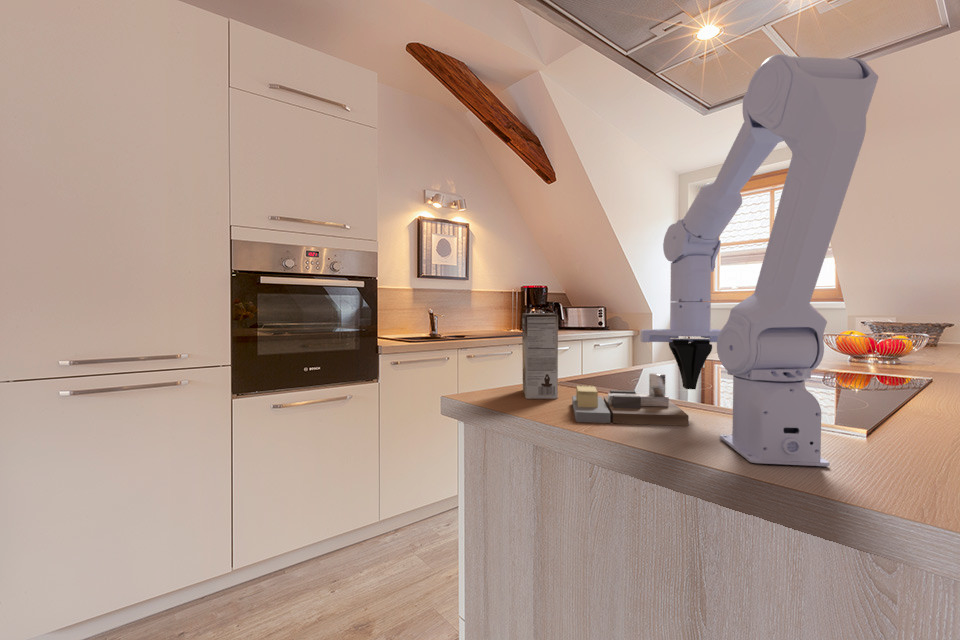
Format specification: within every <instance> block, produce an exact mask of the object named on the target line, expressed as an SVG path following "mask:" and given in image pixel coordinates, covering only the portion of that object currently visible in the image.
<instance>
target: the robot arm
mask: <svg viewBox="0 0 960 640" xmlns="http://www.w3.org/2000/svg"><path fill="white" fill-rule="evenodd" d="M878 80H879V75H878V74H877V73H876V72H875V71H874V70H873V68H872V67H871V66H870V65H869V64H868V63H867V62H866V61H865V60H863V59H861V58H859V57H847V58H835V57H834V58H832V57H817V56H816V57H814V56H812V57H811V56H795V55H794V56H793V55H791V56H790V55H788V54H783V53H776V54H773V55H771V56H769V57H768V58H766V59H765V60H764V61H763V62H762V63H761V64H760V65H759V67H757V69H756V71H755V72H754V73H753V75H752V77H751V79H750V81H749V84H748V87H747V90H746V93H745V94H744V95H743V97H742V119H743V123H742V125H741V128H740V130H739V131H738V133H737V136H736V137H735V140H734V142H733V143H732V145H731V148H730V149H729V151H728V153H727V156H726V158H725V159H724V162H723V164H722V166H721V168H720V170H719V171H718V173H717V176H716V178H715V180H714V181H712V182H708V183H705V184H704V185H702V186H701V188H700V190H699V192H698V193H697V195H696V197H695V198H694V200H693V202H692V203H691V205H690V207H689V208H688V210H687V212H686V213H685V216H684V217H683V218H682V219H678V220H677V222H675V223H672V224H670V225H669V226H668V228H667V230H666V232H665V234H664V237H663V243H662V247H663V255H664V258H666V260H667V261H668V262H670V293H669V294H670V297H669V298H670V299H669V300H670V301H669V302H670V303H669V304H670V307H669V310H670V311H669V312H670V314H669V315H670V317H669V319H670V320H669V321H670V323H669V328H666V329H665V328H664V329H663V328H662V329H661V328H659V329H658V328H655V329H640V342H641V343H668V346H669V349H670V351H671V354H673V357H674V359H675V361H676V364H677V367H678V369H679V373H680V376H681V377H680V378H681V382H682V388H684V389H685V390H696V388H697V384H698V381H699V377H700V374H701V372H702V369H703V366H704V364H705V362H706V360H707V359H708V357H709V356H710V355H711V353H712V351H713V344H712V343H716V353H717V356H718V359H719V361H720V363H721V365H722V366H723V367H724V369H725V370H726V371H727V375H730V376H733V377H732V434H720V435H719V439H721V440H722V441H723V442H724V443H726V444H727V445H728V446H730V447H731V448H732V449H733V450H734V451H736V453H738V454H740V455H741V456H742V457H743V458H745V459H746V460H747V461H748V462H750V463H753V464H765V465H768V464H769V465H787V466H789V465H790V466H810V467H815V466H816V467H830V462H829V461H828V460H826V459H825V458H823V457H821V452H822V451H821V450H822V449H821V447H822V444H821V443H822V408H821V406H820V403H819V401H818V399H817V398H816V397H815V395H814V394H812V393H811V392H809V391H808V390H807V388H806V384H805V383H806V382H805V381H806V380H808V379H809V380H810V379H812V371H814V370H816V369H817V368H818V367H819V365H821V362H822V360H823V359H824V354H825V343H824V342H825V341H824V336H825V335H824V334H825V330H826V327H827V324H828V321H827V319H826V318H825V317H824V316H823V315H822V314H821V313H820V312H819V311H818V310H817V309H816V308H815V307H814V306H813V305H812V304H811V301H812V297H813V294H814V291H815V288H816V285H817V282H818V279H819V276H820V273H821V270H822V267H823V264H824V262H825V258H826V254H827V252H828V248H829V246H830V242H831V240H832V236H833V234H834V231H835V227H836V224H837V221H838V219H839V216H840V212H841V209H842V206H843V204H844V201H845V198H846V194H847V191H848V188H849V186H850V183H851V180H852V177H853V173H854V170H855V168H856V164H857V161H858V157H859V156H860V152H861V149H862V146H863V143H864V141H865V135H866V131H867V114H868V111H869V108H870V106H871V102H872V98H873V96H874V92H875V89H876V86H877V83H878ZM782 142H784V143H785V144H786V145H787V147H788V148H789V149H790V151H791V154H792V155H791V159H790V162H789V166H788V169H787V173H786V177H785V180H784V184H783V186H782V187H783V188H782V191H781V194H780V199H779V203H778V206H777V210H776V213H775V217H774V220H773V224H772V228H771V231H770V235H769V239H768V242H767V245H766V249H765V252H764V256H763V260H762V264H761V268H760V271H759V275H758V278H757V281H756V285H755V289H754V292H753V293H752V294H751V295H749V296H748V297H747V298H745V299H743V300H741V301H740V302H739V303H737V304H736V305H735V306H734V307H732V308H730V313H729V316H728V319H727V321H726V323H725V324H724V325H723V327H722V328H721V329H712V328H711V317H712V316H711V314H712V313H711V311H712V310H711V305H712V304H711V303H712V302H711V300H712V296H711V295H712V272H715V271H714V270H715V268H716V259H717V256H718V255H719V252H720V250H721V244H722V243H721V242H722V241H721V240H720V236H722V233H723V232H724V231H725V229H726V228H727V226H728V225H729V223H730V222H731V221H732V219H733V217H735V215H736V214H737V212H738V211H739V209H740V208H741V206H742V205H743V198H742V194H741V190H742V189H744V187H745V185H746V184H747V183H748V182H749V180H751V178H752V177H753V176H754V174H755V173H756V172H757V171H758V169H759V168H760V167H761V165H762V164H763V163H764V162H765V160H767V158H768V157H769V156H770V154H771V153H772V152H773V151H774V149H775V148H776V146H778V145H779V144H780V143H782ZM680 337H698V338H680ZM699 337H700V338H699Z"/></svg>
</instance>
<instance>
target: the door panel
mask: <svg viewBox="0 0 960 640" xmlns="http://www.w3.org/2000/svg"><path fill="white" fill-rule="evenodd" d="M609 393H622V394H637V391H635V390H622V389H621V390H615V389H612V390H611V389H609ZM603 400H604V402H605V404H606V406H607V408H608V410H609V411H610V421H612V424H625V425H626V424H627V425H628V424H629V425H630V424H632V425H656V426H658V425H660V426H682V427H683V426H684V427H685V426H689V416H690V415H689V414H688V413H687V412H685V411H684V410H682V409H681V408H680V407H679V406H677V405H676V404H675V403H674V402H672V400H670V399H669V407H664V406H641V397H640V396H622V395H613V405H609V403H608V396H603Z"/></svg>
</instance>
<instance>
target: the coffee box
mask: <svg viewBox="0 0 960 640" xmlns="http://www.w3.org/2000/svg"><path fill="white" fill-rule="evenodd" d="M521 316H522V318H521V319H522V322H521V324H522V325H521V326H522V332H521V333H522V334H521V335H522V337H521V339H522V340H521V341H522V346H521V347H522V352H521V353H522V390H523V393H524V396H525V399H527V400H530V399H531V400H534V399H536V400H540V399H544V400H545V399H547V400H548V399H549V400H550V399H551V400H553V399H555V400H556V399H558V397H559V396H558V394H559V393H558V391H559V387H558V386H559V385H558V383H559V382H558V380H559V378H558V376H559V373H558V371H559V369H558V367H559V366H558V365H559V361H558V360H559V357H558V356H559V353H558V352H559V315H558V313H553V312H529V313H527V312H525V313H524V312H523V313H522V315H521Z"/></svg>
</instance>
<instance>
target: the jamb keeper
mask: <svg viewBox="0 0 960 640" xmlns="http://www.w3.org/2000/svg"><path fill="white" fill-rule="evenodd" d="M575 385H576V386H575V387H576V391H575V392H576V393H575V395H572V396H571V398H572V404H571V405H572V409H573V414H574V418H575V422H576V423H594V424H595V423H596V424H598V423H599V424H611V418H610V411H609V410H608V408H607V406H606V404H605V402H604V398H603V397H602V396H601V395H600V396H598V395H599V394H598V393H599V391H598V390H597V388H596V386H595V385H582V384H580V385H579V384H578V385H577V384H575Z"/></svg>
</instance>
